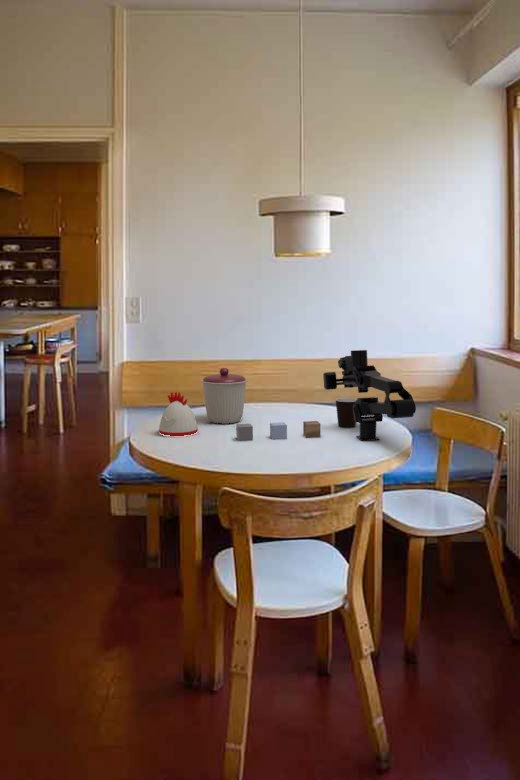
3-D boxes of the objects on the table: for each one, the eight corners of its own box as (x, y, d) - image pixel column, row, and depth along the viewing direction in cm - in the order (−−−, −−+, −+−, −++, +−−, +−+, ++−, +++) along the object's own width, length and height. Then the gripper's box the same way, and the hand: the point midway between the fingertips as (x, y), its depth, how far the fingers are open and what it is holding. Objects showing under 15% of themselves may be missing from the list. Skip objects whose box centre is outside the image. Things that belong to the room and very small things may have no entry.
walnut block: (320, 437, 259) (320, 423, 258) (306, 438, 258) (306, 424, 257) (316, 434, 263) (317, 420, 263) (303, 435, 263) (303, 421, 262)
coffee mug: (351, 429, 271) (351, 402, 269) (331, 426, 276) (331, 400, 275) (366, 424, 280) (366, 398, 279) (346, 421, 285) (347, 396, 284)
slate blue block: (286, 439, 257) (286, 425, 256) (272, 439, 256) (272, 425, 255) (284, 436, 261) (283, 422, 261) (270, 436, 261) (270, 422, 260)
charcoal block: (252, 440, 255) (252, 426, 254) (238, 441, 254) (238, 427, 253) (250, 437, 260) (250, 423, 259) (236, 438, 259) (236, 424, 258)
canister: (247, 416, 297) (247, 364, 293) (248, 426, 279) (248, 370, 275) (202, 417, 296) (201, 365, 293) (200, 426, 278) (199, 371, 275)
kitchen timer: (175, 427, 277) (174, 388, 275) (205, 431, 270) (204, 391, 268) (151, 434, 265) (150, 393, 263) (182, 438, 258) (181, 396, 256)
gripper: (379, 354, 265) (361, 356, 280) (330, 358, 259) (314, 359, 274) (381, 385, 265) (363, 385, 280) (332, 389, 260) (317, 389, 275)
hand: (339, 379), depth 277 cm, fingers open, 9 cm apart
